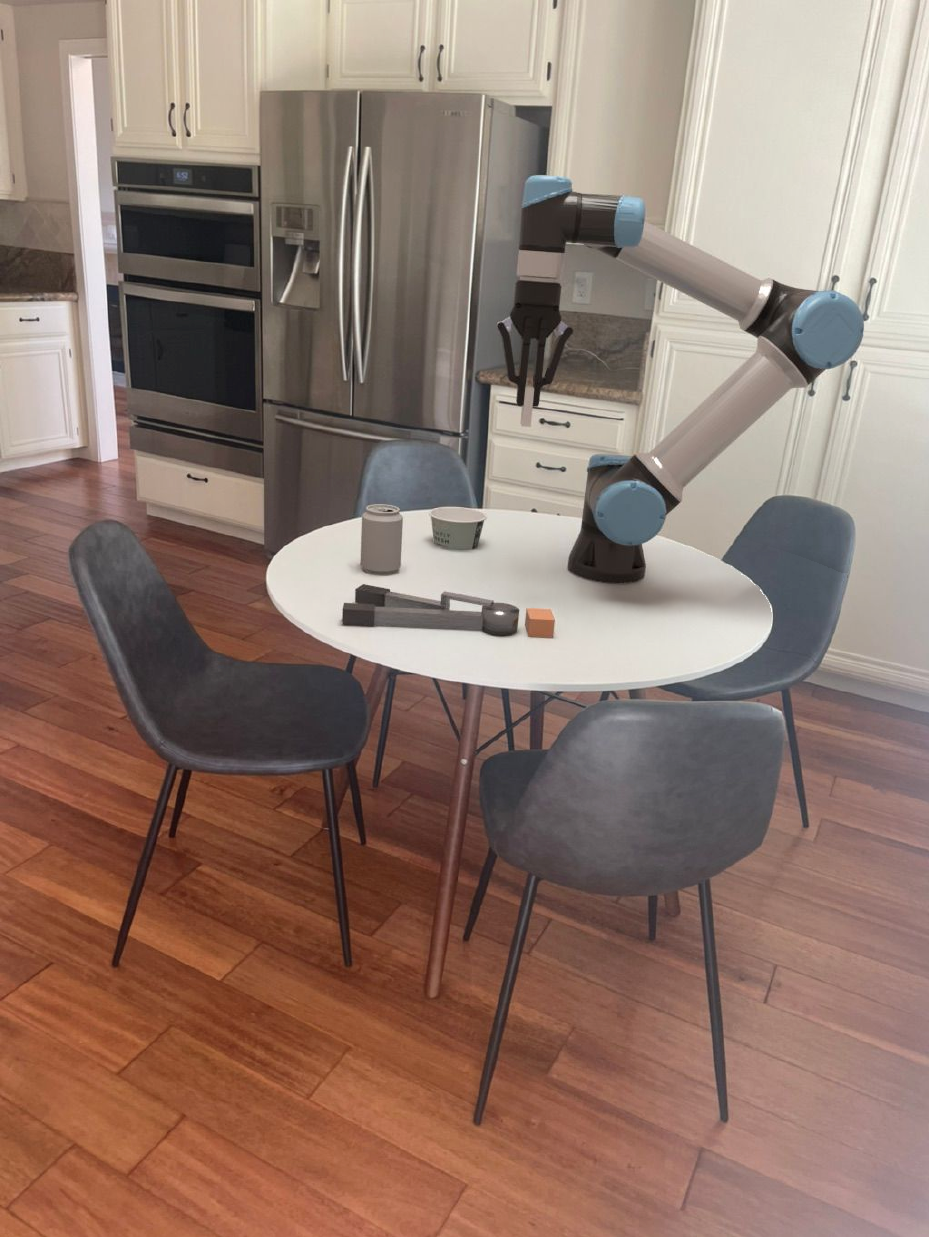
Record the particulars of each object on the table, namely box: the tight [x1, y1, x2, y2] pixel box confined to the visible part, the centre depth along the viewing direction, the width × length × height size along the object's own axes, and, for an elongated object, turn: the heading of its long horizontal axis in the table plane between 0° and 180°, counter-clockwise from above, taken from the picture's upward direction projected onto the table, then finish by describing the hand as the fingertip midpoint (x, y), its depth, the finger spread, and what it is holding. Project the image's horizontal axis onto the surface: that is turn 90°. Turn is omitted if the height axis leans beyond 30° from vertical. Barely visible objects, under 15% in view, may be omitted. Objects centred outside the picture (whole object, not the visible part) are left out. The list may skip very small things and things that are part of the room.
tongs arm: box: [354, 583, 495, 610], centre depth 155 cm, size 24×3×4 cm, turn 70°
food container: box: [428, 506, 488, 551], centre depth 195 cm, size 12×12×6 cm
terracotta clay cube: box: [524, 607, 556, 639], centre depth 152 cm, size 4×5×3 cm
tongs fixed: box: [341, 602, 520, 637], centre depth 150 cm, size 28×6×4 cm, turn 93°
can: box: [359, 503, 404, 576], centre depth 174 cm, size 8×8×12 cm
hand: (525, 425), depth 162 cm, fingers closed
